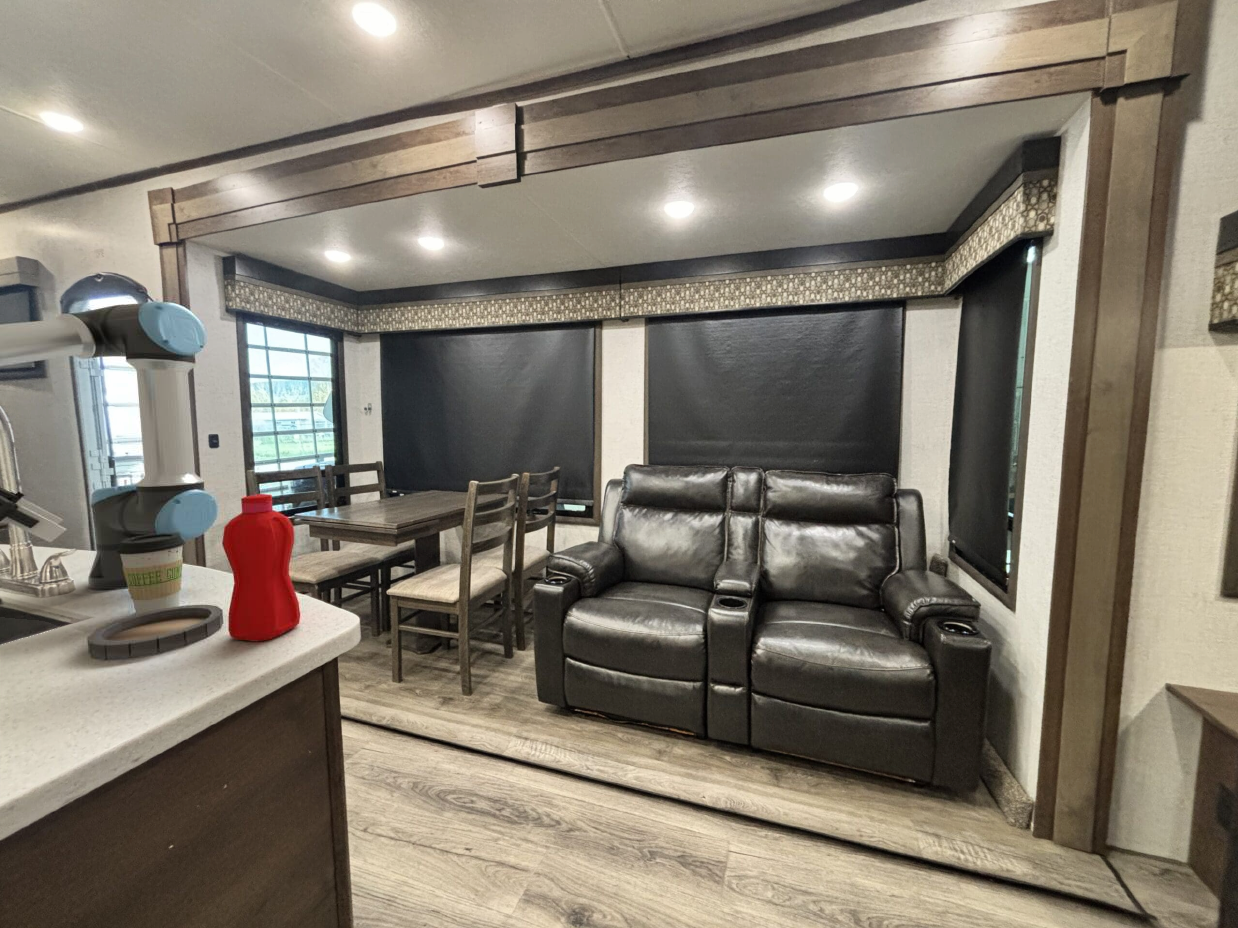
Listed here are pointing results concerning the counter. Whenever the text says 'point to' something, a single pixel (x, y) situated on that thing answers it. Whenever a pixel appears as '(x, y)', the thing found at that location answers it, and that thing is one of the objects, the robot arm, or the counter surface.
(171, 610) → the round tray
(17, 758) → the counter surface
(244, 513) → the red curved bottle
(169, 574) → the coffee cup
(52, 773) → the counter surface
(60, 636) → the counter surface
